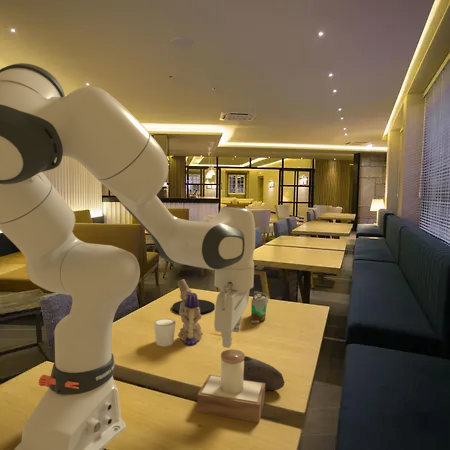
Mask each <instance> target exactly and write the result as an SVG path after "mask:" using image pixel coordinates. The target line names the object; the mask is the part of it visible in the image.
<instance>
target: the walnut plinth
mask: <svg viewBox="0 0 450 450" xmlns="http://www.w3.org/2000/svg"><path fill="white" fill-rule="evenodd" d="M196 396H197V398H196V399H197V404H196V405H197V407H196V409H197V410H196V412H199V413H205V414H209V415H214V416H220V417H226V418H231V419H237V420H241V421H247V422H254V423H260V421H261V415H262V412H263V409H264V404H265V399H266V390H265V383H261V382H254V381H247V380H244V383H243V391H242V392H241V393H238V394H227V393H225V392H223V391H222V390H221V375H213V374H209V375H208V376H207V378H206V380H205V381H204V383H203V385H202V386H201V388H200V389H199V391H198V393H197V395H196Z"/></svg>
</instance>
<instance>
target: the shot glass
mask: <svg viewBox="0 0 450 450" xmlns="http://www.w3.org/2000/svg"><path fill="white" fill-rule="evenodd" d="M153 327H154V335H155V345H157V346H158V347H169V346H172V345H174V340H175V330H176V321H175V320H174V319H172V318H160V319H157V320H155V321H154V322H153Z"/></svg>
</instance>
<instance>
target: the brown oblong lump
mask: <svg viewBox="0 0 450 450" xmlns="http://www.w3.org/2000/svg"><path fill="white" fill-rule="evenodd" d="M244 380H247V381H254V382H261V383H265V391H278V390H281V389H282V388H283V387H284V386H285V381H284V380H285V379H284V376H283V375H282V372H280V371H279V370H278V369H276V368H275V367H274V366H272V365H270V364H269V363H266V362H264V361H261V360H258V359H256V358H254V357H250V356H247V355H245V359H244Z"/></svg>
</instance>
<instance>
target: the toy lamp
mask: <svg viewBox="0 0 450 450" xmlns="http://www.w3.org/2000/svg"><path fill="white" fill-rule="evenodd" d="M198 299H199V298H198V294H197V293H195V292H192V293H188V295H187V298H186V301H185V307H187V308H189V310H190V311H189V315H190V316H189V322H188V323H189V325H188V328H189V329H188V338H186V339H185V341H183V344H184V345H185V346H187V347H192V346H193V347H194V346H196V345H197V343H198V342H197V341H196V339H195V338H193V328H194V327H193V324H194V308H197V307H198V306H199V302H198Z"/></svg>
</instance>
